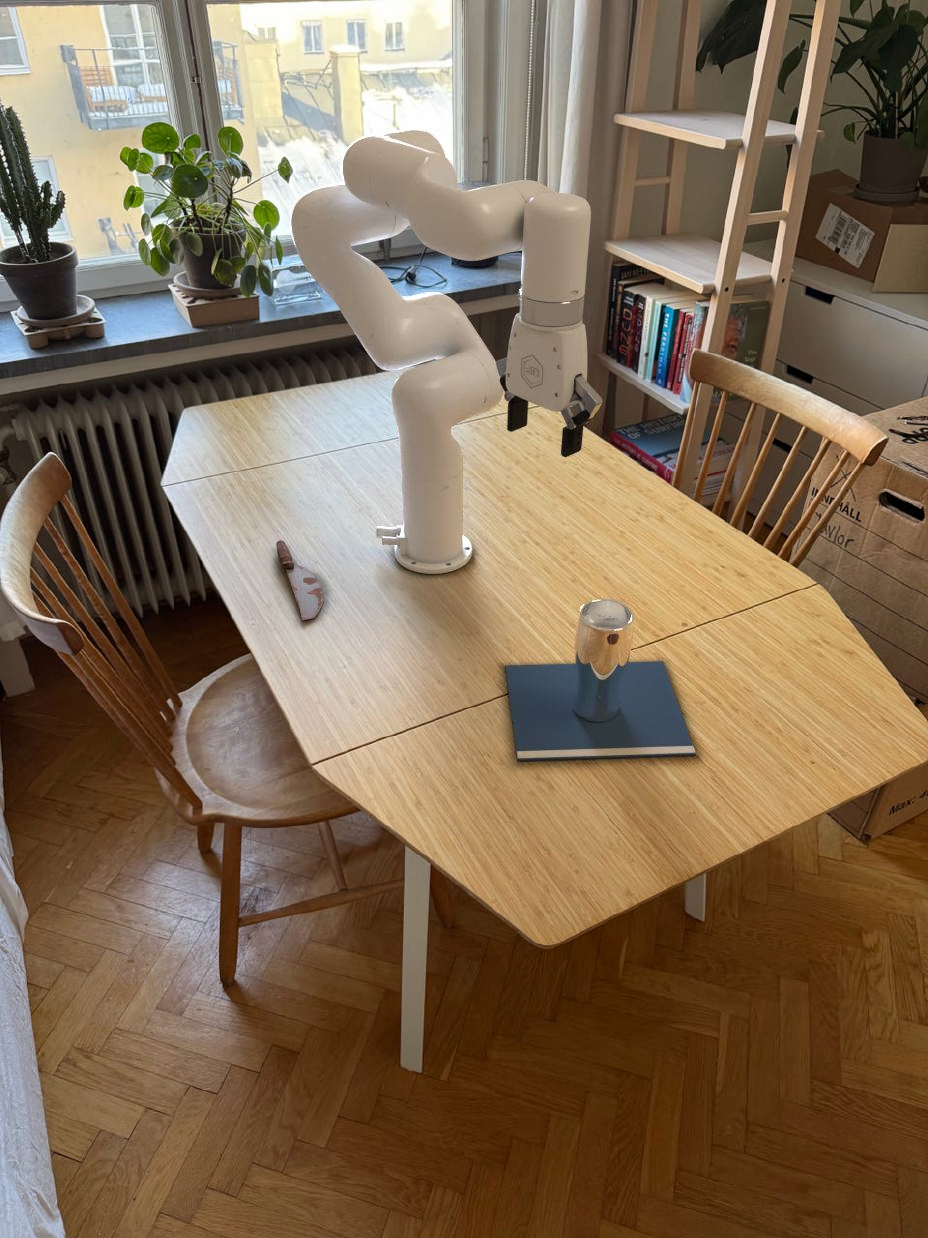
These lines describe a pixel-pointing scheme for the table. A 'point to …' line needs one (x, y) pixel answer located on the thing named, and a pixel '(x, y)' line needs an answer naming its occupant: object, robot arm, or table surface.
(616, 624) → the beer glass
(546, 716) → the blue hardcover book
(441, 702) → the table surface
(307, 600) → the kitchen knife
